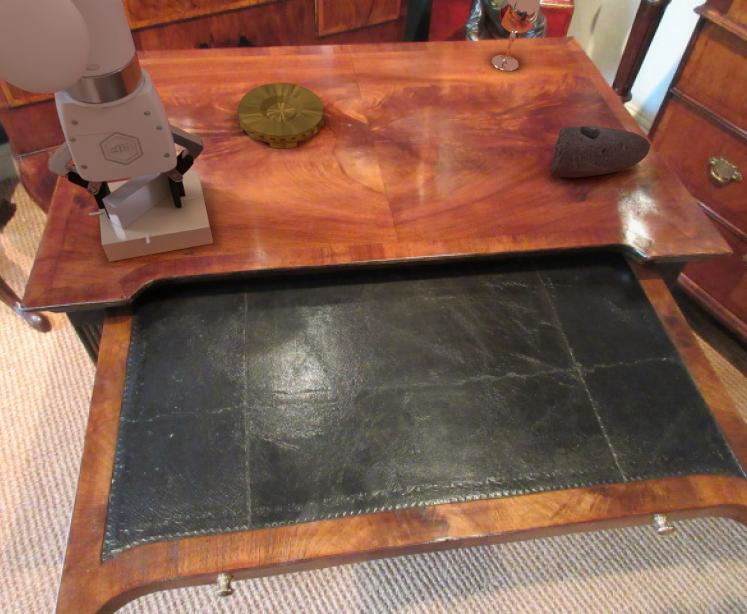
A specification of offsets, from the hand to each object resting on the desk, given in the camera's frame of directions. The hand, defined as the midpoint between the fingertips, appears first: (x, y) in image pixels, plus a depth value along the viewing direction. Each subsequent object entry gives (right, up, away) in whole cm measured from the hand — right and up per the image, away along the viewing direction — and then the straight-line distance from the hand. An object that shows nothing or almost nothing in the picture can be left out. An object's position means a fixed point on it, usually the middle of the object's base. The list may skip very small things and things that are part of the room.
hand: (144, 204), depth 72 cm
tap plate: (+1, -2, +3) cm, 3 cm away
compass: (+14, +15, +16) cm, 26 cm away
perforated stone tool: (+58, +7, +14) cm, 60 cm away
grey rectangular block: (0, 0, 0) cm, 0 cm away
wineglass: (+49, +28, +28) cm, 63 cm away
